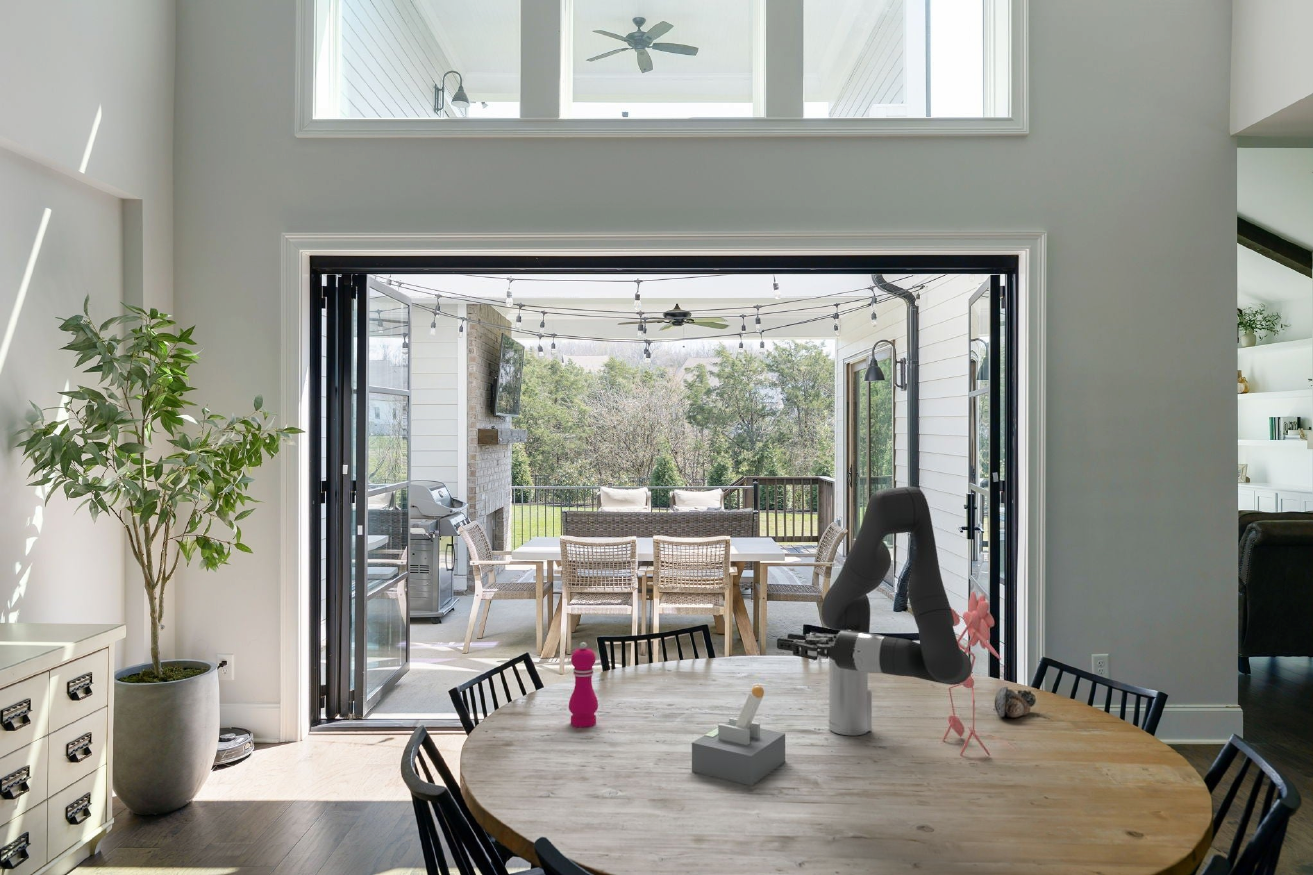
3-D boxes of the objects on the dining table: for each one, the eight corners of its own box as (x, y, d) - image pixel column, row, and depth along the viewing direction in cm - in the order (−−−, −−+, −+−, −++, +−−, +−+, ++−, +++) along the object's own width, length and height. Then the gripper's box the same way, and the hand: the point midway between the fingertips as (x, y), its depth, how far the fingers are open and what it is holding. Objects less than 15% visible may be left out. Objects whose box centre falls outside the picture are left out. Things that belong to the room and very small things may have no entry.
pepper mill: (593, 729, 206) (593, 646, 206) (564, 727, 207) (564, 644, 208) (601, 719, 213) (601, 639, 213) (573, 717, 215) (573, 638, 215)
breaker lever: (736, 730, 185) (758, 681, 182) (746, 737, 183) (768, 688, 180) (729, 734, 182) (751, 684, 179) (739, 741, 181) (762, 691, 178)
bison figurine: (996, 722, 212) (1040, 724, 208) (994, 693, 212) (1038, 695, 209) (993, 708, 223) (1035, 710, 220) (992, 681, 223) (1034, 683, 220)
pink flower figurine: (974, 769, 180) (977, 603, 180) (924, 729, 206) (927, 583, 206) (1043, 768, 181) (1046, 603, 182) (985, 728, 207) (988, 584, 208)
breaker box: (728, 748, 193) (728, 708, 193) (785, 761, 185) (785, 719, 185) (691, 771, 180) (691, 728, 180) (751, 785, 172) (751, 741, 172)
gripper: (874, 626, 173) (797, 616, 183) (849, 639, 162) (767, 628, 171) (875, 663, 173) (797, 651, 183) (849, 679, 162) (767, 666, 171)
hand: (783, 640), depth 177 cm, fingers open, 4 cm apart
